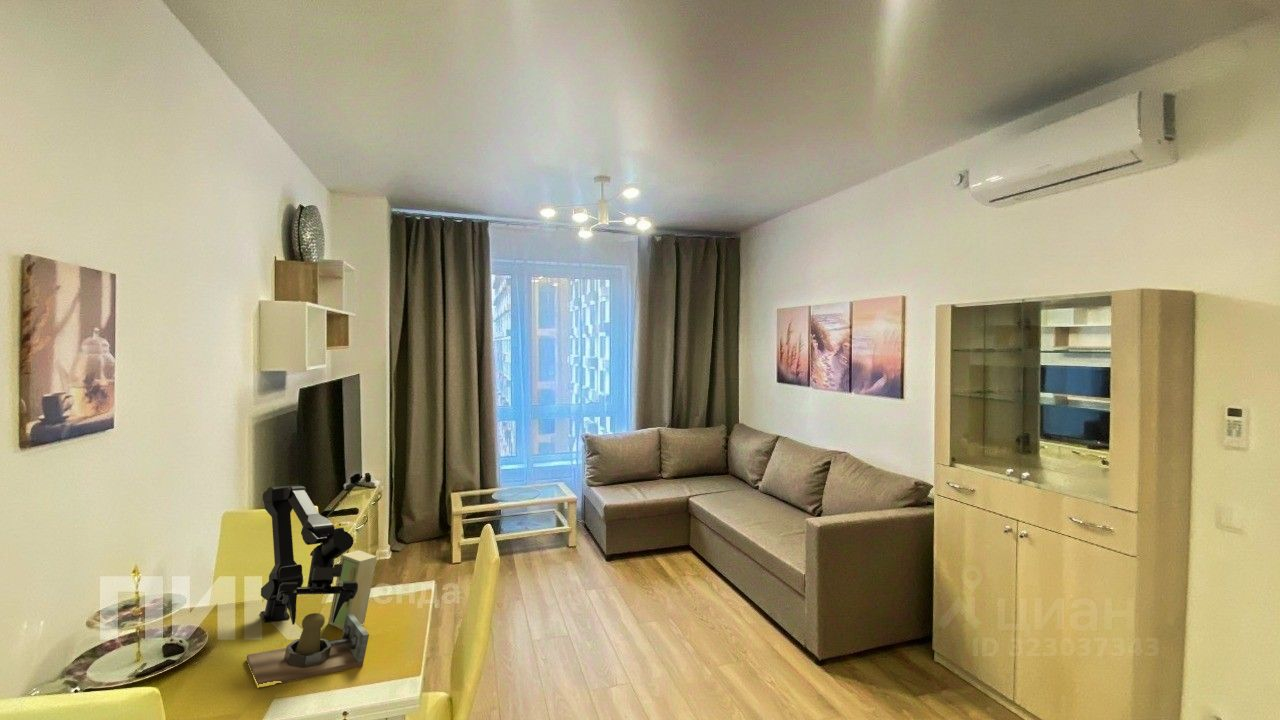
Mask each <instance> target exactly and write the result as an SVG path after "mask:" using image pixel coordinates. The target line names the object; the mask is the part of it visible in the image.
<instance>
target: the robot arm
mask: <svg viewBox="0 0 1280 720" xmlns="http://www.w3.org/2000/svg"><path fill="white" fill-rule="evenodd" d="M262 501H263V504H264V510H265V511H266V512H267V513H268V514H269V515H270V517H271V524H272V525H271V526H272V540H273V541H272V543H273V544H272V545H273V557H274V558H273V559H274V566H273V568H272V569H271V571H270V573H269V575H268V581H267V582H266V584H264V585H263V586H262V587H261V588H260V596H261V597H262V598H263V599H264V600H266V603H265V610H264V611H263V610H262V611H260V616H261V618H262V619H263V622H264V623H265V622H266V623H268V622H275V621H283V620H290V619H291V624H292V625H293V626H294V625H295V624H296V618H297V601H298V600H297V597H298V595H303V596H304V595H334V594H339V597H338V599H337V603H336V607H335V611H334V615H333V620H332V623H334V622H335V619H336V617H337V615H338V612H339V610H340V608H341V607H342V605H343V604H344V602H348V601H349V599H353V598H354V597H355V595H356V593H357V591H358V583H357V582H356V581H343V582H342V585H341V586H332V584H333V583H334V578H337V577H340V576H341V572H342V564H340V563H339V564H338V563H337V564H335V559H338V558H340V557H341V555H342V554H345V553H347V551H348V550H350V549H351V548H352V547H353V545H354V538H353V536H352V534H351V533H350V532H348V531H345V528H344V527H337V528H336V527H335V525H334V524H333V523H332V522H331V520H330V519H329V518H327V517H325V516H323V515H321V514H320V513H319V511H318V510H317V508H316V506H315V504H314V503H313V502H312V500H311V498H310V496H309V495H308V493H307V488H306V487H305V485H304V486H303V485H287V486H269V487H268V488H267V489H266V490H265V491H264V492H263V494H262ZM292 511H294V513H295V514H296V517H297V518H298V520H299V521H300V523H301V526H302V528H301V532H300V533H301V538H302V540H303V542H304V543H305V545H307V546H311V545H317V546H315V547H314V548H313V550H312V551H311V552H310V553H309V555H310V556H311V562H310V567H309V574H308V580H307V586H303V584H304V576H303V566H302V564H300V563H299V564H298V563H297V562H296V561H295V559H294V558H295V557H294V542H293V529H292V528H293V527H292V517H291V513H292ZM288 612H289V613H288Z"/></svg>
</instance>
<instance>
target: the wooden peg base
mask: <svg viewBox="0 0 1280 720" xmlns="http://www.w3.org/2000/svg"><path fill="white" fill-rule="evenodd" d="M345 626H349V627H350V628H351V629H350V633H349V638H351V639H352V636H353V635H356V636H357V637H358V639H357V644H356V649H350V644H351V643H347V644H342V645H336V646H331V650H330V655H329V658H328V659H327V660H326V661H324V662H323V663H322V664H321V665H317V666H312V667H307V668H299V667H294V666H289V665H287V663H286V661H285V659H284V657H285V653H284V652H286V647H283V648H279V649H272V650H266V651H260V652H255V653H249V654H247V655H246V659H247V661H248V664H249V666H250V668H251V671H252V673H253V675H254V677H255V679H256V681H257V683H258V685H259V684H263V683H267V682H273V681H281V682H282V683H281V684H285V683H290V682H294V681H299V680H304V679H308V678H313V677H319V676H323V675H328V674H333V673H337V672H342V671H347V670H352V669H357V668H361V667H363V666H364V662H365V657H366V651H367V648H368V647H367V646H368V642H369V637H370V634H369V632H368V631H367V630H366V628H365V627H364V626H363V625H361V623H360V622H359V621H358V620H357V618H356V617H355V616H354V615H353V613H348V614H346V618H345V623H344V628H343V630H342V634H341V638H337V639H331V640H328V642H330V641H336V640H341V639H343V634H344V629H345ZM283 653H284V654H283ZM246 659H245V660H246ZM248 664H247V665H248Z"/></svg>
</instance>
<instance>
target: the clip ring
mask: <svg viewBox="0 0 1280 720" xmlns="http://www.w3.org/2000/svg"><path fill="white" fill-rule="evenodd" d="M350 629H351V628H350V627H349V626H345V629H344V634H343V639H341V638H340V639H341V640H336V639H335V640H336V641H330V640H328V639H327V638H323V637H322V638H321V637H320V652H318V653H312V654H307V655H306V654H301V653H296V652H295V651H296V648H297V645H298V642H299V639H300V638H298V639H297V638H296V639H295V640H293V641H292V642H291V643H289V644H287V646H286V647H285V648H286V652H285V657H284V659H285V661H286V663H287V665H289V666H294V667H299V668H307V667H312V666H317V665H321V664H322V663H323V662H324V661H326V660H327V659H328V658H329V655H330V650H331V646H336V645H342V644H347V643H351V644H350V649H356V644H357V639H358V637H357V636H356V635H353V636H352V639H351V638H349V633H350ZM328 641H330V642H328Z"/></svg>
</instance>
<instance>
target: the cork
mask: <svg viewBox="0 0 1280 720" xmlns="http://www.w3.org/2000/svg"><path fill="white" fill-rule="evenodd" d="M301 621H302V622H301V627H302V631H301V634H300V637H299V638H298V639H299V642H298V645H297V648H296V651H295V652H296V653H301V654H306V655H307V654H312V653H318V652H320V638H321V633H322V628H323V627H324V624H325V622H326V619H325V616H324V615H323V614H321V613H318V612H317V613H316V612H313V613H309V614H307V615H305V616H304V617H303V619H302V620H301Z"/></svg>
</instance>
